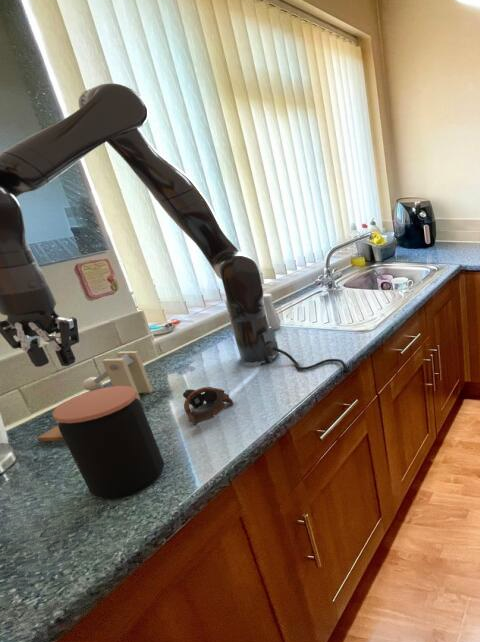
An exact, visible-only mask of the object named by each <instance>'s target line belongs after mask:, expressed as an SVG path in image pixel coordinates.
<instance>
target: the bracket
mask: <svg viewBox="0 0 480 642" xmlns="http://www.w3.org/2000/svg"><path fill="white" fill-rule="evenodd" d="M125 354H127V355H128V356H129V357H131V358H132V359H133V360H134V362H133V363H131V364H130V365H128V366H127V363H126V361H125V358H120V357H122V356H123V355H125ZM116 356H117V358H105V359H102V360H101V362H102V364H103V367H104V369H105V372H106V371H107V374H108V376H107V377H108V378H109V381H110V383H111V385H112V386H111V387H113V386H130V387H133V388H134V389H135V390H136V393H137V396H136V398H137V399H138V400H139V401H141V396H140V394H150V393H152V392H153V390H154V389H153V387H152V385H151V382H150V379H149V377H148V374H147V371H146V369H145V366H144V363H143V361H142V359H141V356H140V354H139V351H138V350H130V351H129V350H127V351H121V350H120V351H118V352H116ZM118 358H120V359H118Z"/></svg>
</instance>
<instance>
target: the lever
mask: <svg viewBox="0 0 480 642" xmlns="http://www.w3.org/2000/svg"><path fill="white" fill-rule="evenodd" d="M120 358H125V361H126V363H127V366H128V365H130V364H131V363H133V362H134V360H133V359H132V358H131V357H129V356H128V355H127V354H125V355H123V356H122V357H120ZM120 358H118V357H117V359H120ZM107 377H109V376H108V374H107V371H106V370H105V371H104V372H103V373H102V374H100V375H99V376H90V377H88V378H86V379H84V380H83V382H82V388H83V389H84V390H86V391H88V392H90V391H93V390H97V389H101V388H102V386H103V380H104V379H106V378H107Z"/></svg>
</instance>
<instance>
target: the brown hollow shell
mask: <svg viewBox="0 0 480 642" xmlns="http://www.w3.org/2000/svg"><path fill="white" fill-rule="evenodd" d="M182 397H184V399H185V400H184V403H183V409H184V411H185V414H186V415H187V420H188V422H190V423H193V426H196V425H197V424H199V423H202V422H206V421H209V420H210V419H214V418H215V416H217V415H219V413H221V412H222V411H223V410H224V409H227V408H229V407H228V405H227V404H230V405H231V406H233V405H234V402H233V399H232V398H231V397H230V395H229V394H228V393H225V390H224V389H222V388H217V387H212V386H204V387H200V388H197V389H196V390H195V389H190V388H189V389H186V390H185V391H184V392H183V394H182ZM204 403H206V404H211V403H213V404H212V405H211V406H210V407H209V408H207V409H204V410H200V411H195V410H197V409H199V408H200V407H202V406H203V405H204ZM226 403H227V404H226ZM190 405H191V406H192V408H193V409H194V410H192V411H191V408H190Z"/></svg>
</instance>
